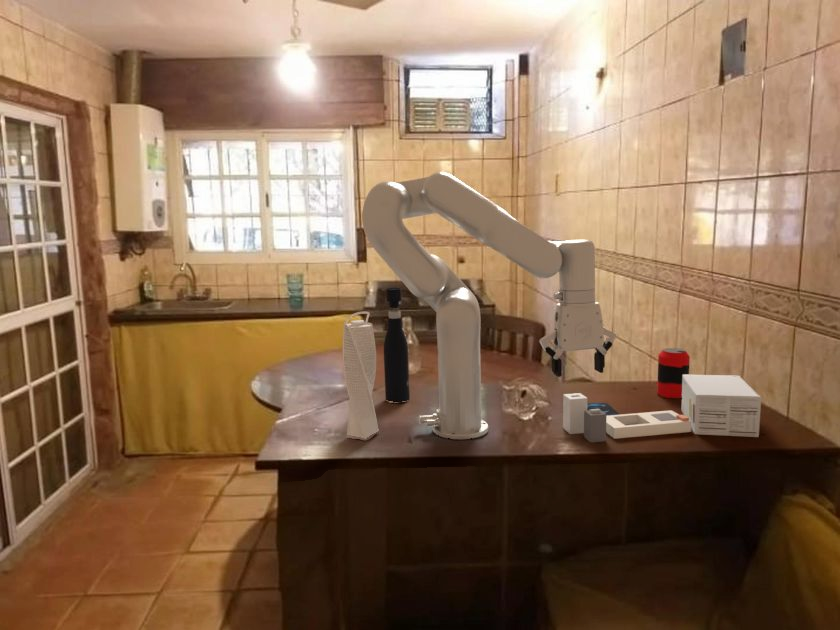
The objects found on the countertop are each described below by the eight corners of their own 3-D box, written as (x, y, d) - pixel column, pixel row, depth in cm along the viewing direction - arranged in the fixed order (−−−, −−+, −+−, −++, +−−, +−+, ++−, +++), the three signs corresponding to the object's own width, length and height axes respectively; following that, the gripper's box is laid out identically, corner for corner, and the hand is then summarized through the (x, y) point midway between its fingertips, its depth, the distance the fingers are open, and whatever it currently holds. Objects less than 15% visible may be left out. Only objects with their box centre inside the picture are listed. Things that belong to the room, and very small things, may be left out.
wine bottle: (383, 398, 172) (378, 287, 168) (405, 395, 174) (402, 286, 169) (389, 404, 166) (384, 290, 161) (412, 402, 168) (408, 289, 163)
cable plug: (590, 442, 136) (591, 412, 135) (583, 436, 140) (584, 407, 139) (605, 441, 137) (606, 411, 136) (598, 435, 140) (599, 406, 139)
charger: (570, 434, 142) (570, 398, 140) (563, 428, 146) (563, 393, 144) (587, 432, 142) (587, 397, 141) (579, 426, 146) (580, 392, 145)
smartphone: (607, 402, 163) (627, 421, 148) (607, 404, 163) (627, 423, 148) (577, 403, 163) (595, 422, 148) (577, 405, 163) (594, 425, 148)
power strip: (614, 438, 138) (614, 425, 137) (598, 426, 146) (598, 413, 145) (690, 431, 141) (691, 418, 140) (671, 420, 149) (671, 407, 148)
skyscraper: (359, 428, 150) (353, 310, 145) (386, 432, 146) (381, 311, 141) (339, 439, 143) (333, 315, 138) (368, 444, 139) (362, 317, 135)
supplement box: (679, 410, 156) (681, 373, 154) (738, 413, 153) (740, 375, 151) (693, 435, 139) (695, 393, 138) (759, 438, 137) (762, 395, 135)
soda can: (679, 401, 163) (681, 355, 161) (651, 395, 168) (653, 350, 166) (693, 394, 168) (695, 350, 166) (665, 389, 173) (667, 346, 171)
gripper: (545, 302, 134) (547, 381, 137) (622, 296, 136) (622, 373, 139) (533, 297, 141) (535, 373, 144) (607, 292, 144) (607, 366, 147)
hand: (578, 373), depth 142 cm, fingers open, 9 cm apart
